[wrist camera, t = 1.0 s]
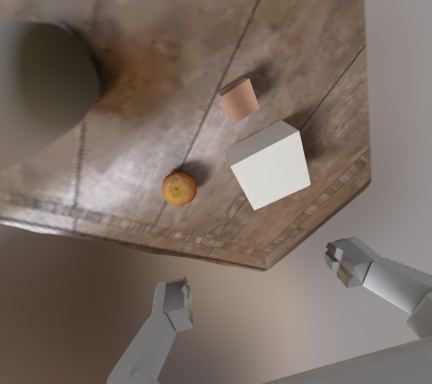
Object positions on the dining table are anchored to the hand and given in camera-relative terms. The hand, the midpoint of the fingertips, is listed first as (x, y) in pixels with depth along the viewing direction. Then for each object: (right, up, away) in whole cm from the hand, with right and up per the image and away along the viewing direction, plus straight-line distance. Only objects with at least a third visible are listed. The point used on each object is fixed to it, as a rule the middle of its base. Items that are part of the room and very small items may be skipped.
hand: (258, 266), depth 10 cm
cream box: (+9, +12, +34) cm, 37 cm away
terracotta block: (+1, +23, +24) cm, 33 cm away
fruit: (-11, +7, +34) cm, 37 cm away
